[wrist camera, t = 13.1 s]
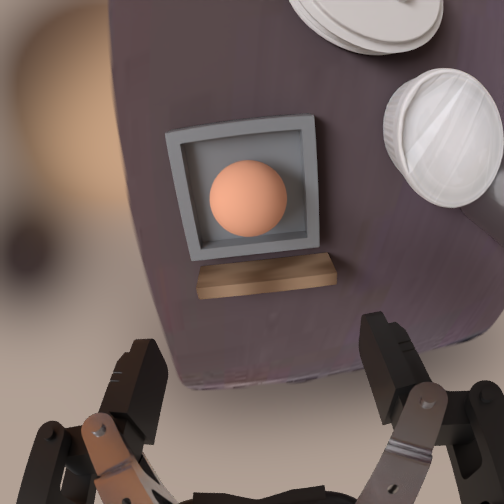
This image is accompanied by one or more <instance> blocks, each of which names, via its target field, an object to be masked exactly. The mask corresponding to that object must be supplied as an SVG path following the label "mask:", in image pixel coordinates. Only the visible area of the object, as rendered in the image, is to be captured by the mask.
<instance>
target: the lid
mask: <svg viewBox="0 0 504 504" xmlns="http://www.w3.org/2000/svg"><path fill="white" fill-rule="evenodd" d="M289 2H290V3H291V5H292V7H293V8H294V10H295V11H296V13H297V14H298V15H299V17H300V18H301V19H302V20H303V21H304V22H305V23H306V24H307V25H308V26H309V27H310V28H311V29H312V30H313V31H315V32H316V33H317V34H318V35H320V36H321V37H323V38H324V39H326V40H327V41H329V42H331V43H333V44H335V45H337V46H339V47H341V48H344V49H346V50H349V51H353V52H356V53H360V54H367V55H387V54H392V53H400V52H406V51H410V50H413V49H416V48H418V47H420V46H422V45H424V44H425V43H426V42H428V41H429V40H430V39H431V38H432V37H433V36H434V34H435V33H436V31H437V30H438V28H439V26H440V23H441V20H442V15H443V0H289Z"/></svg>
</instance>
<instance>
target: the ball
mask: <svg viewBox="0 0 504 504" xmlns="http://www.w3.org/2000/svg"><path fill="white" fill-rule="evenodd" d="M286 204H287V193H286V188H285V185H284V183H283V180H282V179H281V177H280V176H279V174H278V173H277V172H276V171H275V170H274V169H273V168H271V167H270V166H268V165H266V164H264V163H262V162H259V161H254V160H242V161H238V162H235V163H232V164H230V165H229V166H227V167H226V168H224V169H223V170H222V171H221V172H220V173H219V174H218V175H217V177H216V178H215V180H214V182H213V184H212V187H211V190H210V207H211V210H212V213H213V215H214V217H215V219H216V220H217V222H218V223H219V224H220V225H221V226H222V227H223V228H224V229H225V230H227V231H229V232H230V233H233V234H235V235H238V236H243V237H254V236H259V235H262V234H264V233H266V232H268V231H270V230H271V229H272V228H274V227H275V226H276V225H277V224H278V222H279V221H280V220H281V218H282V216H283V214H284V212H285V209H286Z"/></svg>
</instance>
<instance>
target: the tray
mask: <svg viewBox="0 0 504 504" xmlns="http://www.w3.org/2000/svg"><path fill="white" fill-rule="evenodd" d="M165 137H166V143H167V148H168V154H169V159H170V164H171V170H172V175H173V180H174V185H175V189H176V194H177V199H178V204H179V208H180V213H181V218H182V222H183V227H184V231H185V235H186V240H187V244H188V248H189V253H190V257H191V261H197V260H206V259H215V258H224V257H233V256H242V255H251V254H260V253H269V252H278V251H287V250H296V249H305V248H314V247H319V198H318V172H317V152H316V135H315V121H314V115H312V114H309V113H306V114H290V115H277V116H266V117H256V118H247V119H238V120H230V121H223V122H216V123H209V124H203V125H196V126H191V127H185V128H179V129H174V130H170V131H168V132H167V133H165ZM242 160H254V161H259V162H262V163H264V164H266V165H268V166H270V167H271V168H273V169H274V170H275V171H276V172H277V173H278V174H279V176H280V177H281V179H282V180H283V183H284V185H285V188H286V193H287V204H286V209H285V212H284V214H283V216H282V218H281V220H280V221H279V222H278V224H277V225H276V226H275V227H274V228H272V229H271V230H270V231H268V232H266V233H264V234H262V235H259V236H254V237H243V236H238V235H235V234H233V233H230V232H229V231H227V230H225V229H224V228H223V227H222V226H221V225H220V224H219V223H218V222H217V220H216V219H215V217H214V215H213V213H212V210H211V207H210V190H211V187H212V184H213V182H214V180H215V178H216V177H217V175H218V174H219V173H220V172H221V171H222V170H223V169H224V168H226V167H227V166H229V165H230V164H232V163H235V162H238V161H242Z"/></svg>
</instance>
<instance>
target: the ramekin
mask: <svg viewBox="0 0 504 504" xmlns="http://www.w3.org/2000/svg"><path fill="white" fill-rule="evenodd" d="M383 135H384V142H385V147H386V149H387V151H388V155H389V156H390V158H391V160H392V162H393V163H394V164H395V166H396V168H397V169H398V170H399V171H400V172H401V173H402V175H403V176H404V178H405V179H406V181H407V182H408V184H409V185H410V186H411V188H412V189H413V190H414V191H415V192H416V193H417V194H419V195H420V196H421V197H422V198H424V199H426V200H427V201H429V202H431V203H433V204H435V205H438V206H441V207H447V208H456V207H461V206H464V205H467V204H469V203H471V202H473V201H475V200H476V199H478V198H479V197H480V196H481V195H482V194H483V193H484V192H485V191H486V190H487V189H488V187H489V186H490V185H491V183H492V182H493V180H494V178H495V176H496V174H497V172H498V169H499V167H500V164H501V159H502V156H503V148H504V137H503V127H502V122H501V118H500V115H499V112H498V109H497V106H496V104H495V102H494V101H493V99H492V97H491V95H490V94H489V92H488V91H487V90H486V89H485V88H484V86H483V85H482V84H481V83H480V82H479V81H478V80H477V79H475V78H474V77H472V76H471V75H469V74H467V73H465V72H463V71H460V70H456V69H451V68H438V69H433V70H429V71H427V72H425V73H423V74H421V75H419V76H418V77H417V78H415V79H412V80H410V81H408V82H406V83H404V84H403V85H402V86H401V87H399V88H398V89H397V91H396V92H395V93H394V94H393V96H392V97H391V98H390V100H389V103H388V104H387V108H386V110H385V115H384V123H383Z"/></svg>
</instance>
